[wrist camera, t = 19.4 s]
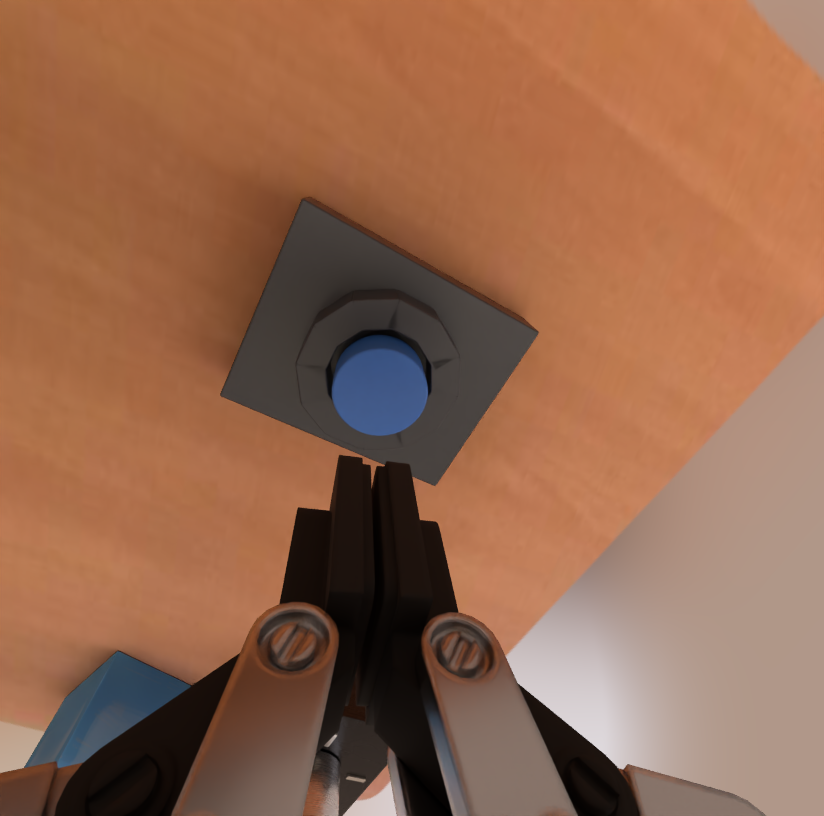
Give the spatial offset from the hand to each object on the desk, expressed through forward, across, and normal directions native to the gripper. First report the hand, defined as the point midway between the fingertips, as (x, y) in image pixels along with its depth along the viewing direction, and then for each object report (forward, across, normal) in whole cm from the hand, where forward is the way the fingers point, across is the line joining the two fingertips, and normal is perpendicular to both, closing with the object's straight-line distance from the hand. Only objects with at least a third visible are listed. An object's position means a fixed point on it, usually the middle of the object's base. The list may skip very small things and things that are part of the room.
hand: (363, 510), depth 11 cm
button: (+9, -1, 0) cm, 9 cm away
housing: (+12, -1, 0) cm, 12 cm away
